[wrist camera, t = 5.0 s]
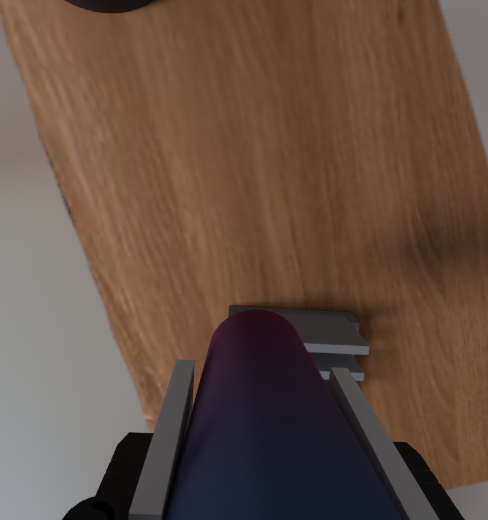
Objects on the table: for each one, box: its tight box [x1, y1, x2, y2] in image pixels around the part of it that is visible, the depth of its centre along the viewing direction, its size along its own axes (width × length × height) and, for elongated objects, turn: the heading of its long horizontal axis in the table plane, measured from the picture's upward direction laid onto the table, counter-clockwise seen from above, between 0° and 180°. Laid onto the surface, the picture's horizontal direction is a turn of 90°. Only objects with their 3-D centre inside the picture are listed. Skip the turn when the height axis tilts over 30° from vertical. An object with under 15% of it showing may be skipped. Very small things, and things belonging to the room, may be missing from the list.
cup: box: [164, 309, 403, 520], centre depth 10 cm, size 7×7×15 cm
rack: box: [228, 306, 370, 386], centre depth 33 cm, size 18×13×7 cm
